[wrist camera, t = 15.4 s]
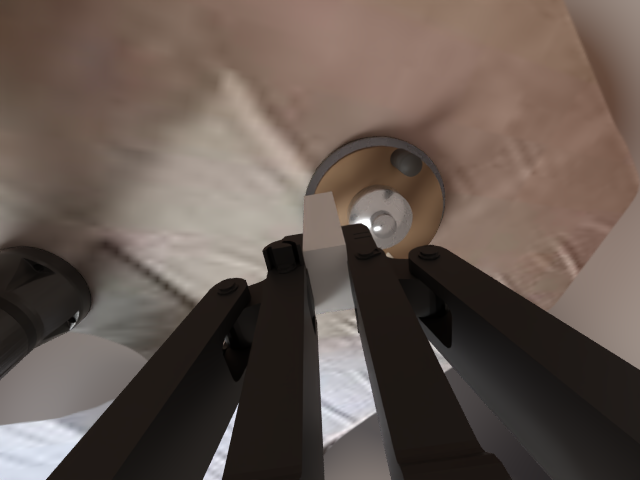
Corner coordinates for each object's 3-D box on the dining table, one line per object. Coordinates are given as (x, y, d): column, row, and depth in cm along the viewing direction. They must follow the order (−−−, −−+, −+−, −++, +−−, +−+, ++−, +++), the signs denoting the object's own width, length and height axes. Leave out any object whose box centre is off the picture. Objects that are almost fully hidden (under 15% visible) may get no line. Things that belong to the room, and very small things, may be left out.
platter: (284, 210, 43) (280, 228, 37) (385, 114, 38) (399, 117, 32) (366, 288, 49) (375, 314, 43) (463, 212, 44) (487, 230, 38)
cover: (335, 213, 42) (338, 227, 37) (380, 171, 40) (390, 181, 35) (372, 250, 45) (380, 267, 40) (417, 213, 42) (430, 227, 38)
